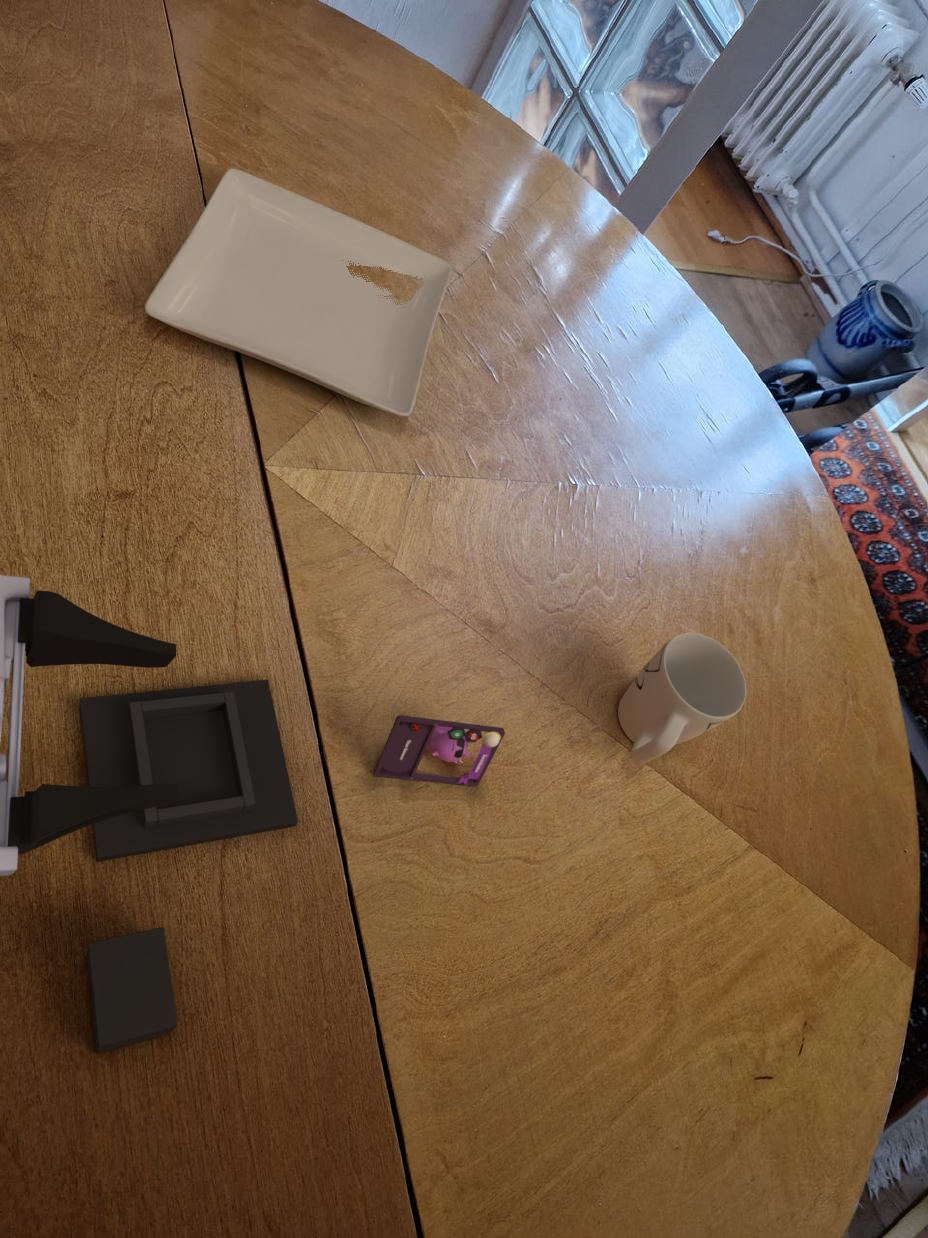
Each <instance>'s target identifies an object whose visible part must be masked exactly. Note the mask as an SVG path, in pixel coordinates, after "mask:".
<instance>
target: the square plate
mask: <svg viewBox="0 0 928 1238" xmlns="http://www.w3.org/2000/svg"><path fill="white" fill-rule="evenodd" d="M342 260H343V261H342ZM348 261H349V262H348ZM350 261H351V262H350ZM345 262H346V263H345ZM353 262H354V266H355V264H356V266H359V265H362V266H368V267H369V266H370V267H373V266H374V267H375V266H377V267H378V266H379V267H382V269H383V268H384V270H385V269H386V268H387V269H386V271H387V270H392V271H393V270H394V271H393V272H398V271H399V272H398V274H399V273H400V274H401V273H403V275H404V274H405V275H406V274H407V275H410V276H411V275H412V277H416V276H418V277H417V279H418V278H419V279H420V278H423V280H422V281H424V282H423V283H424V285H423V287H420V289H419V291H417V290H416V293H415V294H413V295H414V296H413V298H412V299H411V300H410V301H408V302H405V303H407V304H405V303H404V305H403V303H400V304H402V305H400V304H399V303H398V304H399V305H397V306H396V304H397V302H398V301H397V302H396V301H395V302H396V304H395V302H394V300H395V299H394V300H393V299H391V298H392V297H391V298H390V296H389V295H392V293H393V292H392V293H391V292H390V293H389V291H390V290H389V291H388V290H387V288H386V289H385V288H384V289H383V290H384V292H383V290H382V289H381V290H380V288H381V287H380V288H379V287H378V288H377V286H378V285H377V286H376V285H375V284H374V283H373V282H366V280H364V279H365V278H364V279H363V278H362V277H357V276H361V275H357V276H356V275H355V273H354V272H353V273H354V275H355V276H352V275H353V274H352V275H351V274H350V272H349V270H348V268H347V267H346V266H350V265H351V264H350V265H349V263H352V265H353ZM358 263H359V264H358ZM377 267H376V268H377ZM379 267H378V268H379ZM350 271H351V270H350ZM352 271H353V270H352ZM392 271H391V272H392ZM452 272H453V265H452V263H450V262H449V261H447V260H446V259H444V258H441V257H439V256H438V255H435V254H433V253H430V252H429V251H426V250H423V249H421V248H419V247H417V246H415V245H413V244H411V243H409V242H406V241H404V240H402V239H401V238H398V237H395V236H393V235H392V234H389V233H387V232H385V231H382V230H380V229H378V228H376V227H374V226H371V225H369V224H367V223H365V222H362V221H360V220H358V219H355V218H354V217H351V216H349V215H346V214H344V213H342V212H340V211H337V210H335V209H333V208H332V207H328V206H326V205H323V204H321V203H319V202H317V201H316V200H315V201H314V200H312V199H310V198H308V197H306V196H303V195H301V194H298V193H297V192H294V191H291V190H289V189H287V188H285V187H282V186H280V185H277V184H275V183H272V182H270V181H267V180H265V179H263V178H261V177H258V176H255V175H253V174H251V173H248V172H246V171H244V170H241V169H239V168H235V167H229V168H228V169H227V170H226V171H225V172H224V174H223V175H222V177H221V178H220V180H219V182H218V184H217V185H216V187H215V189H214V191H213V193H212V195H211V196H210V198H209V199H208V202H207V204H206V205H205V207H204V209H203V211H202V213H201V214H200V216H199V217H198V219H197V221H196V223H195V224H194V226H193V227H192V229H191V231H190V232H189V234H188V235H187V237H186V238H185V240H184V242H183V243H182V245H181V247H180V248H179V250H178V251H177V253H176V254H175V256H174V258H173V259H172V260H171V263H169V265H168V266H167V268H166V270H164V271H163V274H162V276H161V277H160V279H159V280H158V282H157V283H156V285H155V286H154V288H153V289H152V291H151V293H150V295H148V298H147V300H146V302H145V303H144V311H145V313H146V314H147V315H148V316H150V317H152V318H154V319H155V320H158V321H160V322H162V323H164V324H166V325H167V326H170V327H172V328H174V329H176V330H179V331H181V332H184V333H186V334H189V335H190V336H193V337H196V338H199V339H200V340H203V341H206V342H210V343H212V344H215V345H218V346H220V347H224V348H225V349H229V350H232V351H235V352H237V353H240V354H243V355H246V356H248V357H250V358H254V359H256V360H258V361H261V362H263V363H267V364H268V365H271V366H274V367H276V368H278V369H282V370H283V371H285V372H287V373H290V374H294V375H295V376H298V377H300V378H303V379H305V380H308V381H310V382H313V383H315V384H317V385H319V386H321V387H324V388H326V389H327V390H328V389H329V390H330V391H333V392H335V393H337V394H339V395H342V396H344V397H347V398H349V399H350V400H353V401H355V402H357V403H360V404H363V405H366V406H368V407H371V408H374V409H377V410H379V411H382V412H385V413H389V414H393V415H396V416H400V417H409V416H411V414H412V412H413V410H414V408H415V404H416V401H417V397H418V393H419V389H420V385H421V381H422V376H423V372H424V367H425V362H426V360H427V359H426V358H427V354H428V351H429V347H430V343H431V339H432V336H433V333H434V329H435V325H436V322H437V318H438V316H439V312H440V311H441V306H442V304H443V301H444V298H445V296H446V293H447V289H448V287H449V284H450V282H451V278H452ZM351 273H352V272H351ZM356 274H357V273H356ZM359 274H360V273H359ZM362 275H363V274H362ZM364 275H365V274H364ZM353 277H354V278H353ZM363 277H364V276H363ZM365 277H366V276H365ZM367 277H368V276H367ZM366 279H367V278H366ZM368 279H369V278H368ZM368 279H367V281H368ZM369 281H370V280H369ZM372 283H373V284H372ZM374 285H375V286H374ZM373 287H374V288H373ZM375 287H376V288H375ZM382 288H383V287H382ZM378 289H379V290H378ZM388 289H389V288H388ZM386 290H387V291H386ZM391 291H392V290H391ZM394 293H395V292H394ZM413 293H414V292H413ZM376 295H377V296H376ZM378 295H379V296H378ZM380 295H381V296H380ZM382 295H383V296H382ZM393 295H394V294H393ZM384 296H389V297H384ZM379 297H380V298H379ZM381 297H382V298H381ZM383 297H384V298H383ZM386 298H388V299H386ZM389 298H390V299H389ZM390 300H391V301H390ZM392 300H393V301H392ZM393 302H394V303H393Z"/></svg>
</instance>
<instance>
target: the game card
mask: <svg viewBox="0 0 928 1238" xmlns="http://www.w3.org/2000/svg"><path fill="white" fill-rule="evenodd" d="M482 732H485V733H484V734H482ZM505 734H506V731H505V728H504V727H498V726H490V725H482V724H476V723H475V724H473V723H467V722H458V721H452V720H451V721H450V720H443V719H436V718H435V719H433V718H426V717H418V716H409V715H401V714H399V715H397V716H396V718H395V720H394V722H393V724H392V727H391V730H390V732H389V734H388V737H387V739H386V742H385V744H384V746H383V748H382V751H381V753H380V756H379V759H378V761H377V763H376V766H375V769H374V776H375V777H379V778H380V777H381V778H388V779H389V778H390V779H400V780H410V781H419V782H430V783H440V784H449V785H460V786H468V787H469V786H471V787H477V786H479V784H480V783H481V781H482V779H483V777H484V775H485V773H486V771H487V770H488V768H489V765H490V764H491V761H492V760H493V757H494V755H495V754H496V752H497V750H498V748H499V746H500V744H501V742H502V740H503V739H504V737H505ZM479 740H480V741H481V746H480V749H479V751H478V752H479V753H478V755H477V757H476V758H475V759H476V760H475V762H474V763H473V766H472V767H471V769H470V771H469V773H468V774H462V775H461V777H453V776H443V775H434V774H424V773H416V772H417V770H418V768H419V765H420V763H421V761H422V759H423V756H424V754H425V752H426V751H428V752H429V753H431V756H433V757H436V758H438V759H440V760H442V761H444V762H448V763H452V762H453V763H455V764H457V763H458V762H460V763H461V764H462V763H464V762H463V761H462V758H463V756H464V757H466V758H468V757H469V758H472V757H473V755H472V754H470V753H469V752H467V750H468V746H469V744H473V743H476V742H478V741H479Z"/></svg>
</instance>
